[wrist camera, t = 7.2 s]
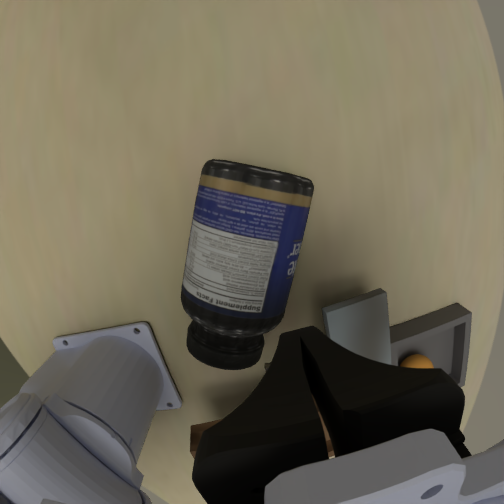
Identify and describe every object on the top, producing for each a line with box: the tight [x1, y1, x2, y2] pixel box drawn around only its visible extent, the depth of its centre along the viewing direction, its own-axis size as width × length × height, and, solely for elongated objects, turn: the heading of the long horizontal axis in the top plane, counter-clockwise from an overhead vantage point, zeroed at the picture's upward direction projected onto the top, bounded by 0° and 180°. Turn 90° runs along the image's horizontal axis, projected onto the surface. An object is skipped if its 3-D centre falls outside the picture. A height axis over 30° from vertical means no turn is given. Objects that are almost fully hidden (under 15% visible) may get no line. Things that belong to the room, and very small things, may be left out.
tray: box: [389, 303, 472, 387], centre depth 22 cm, size 8×8×2 cm
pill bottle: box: [181, 159, 314, 370], centre depth 18 cm, size 6×6×11 cm
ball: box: [400, 354, 434, 368], centre depth 21 cm, size 3×3×3 cm
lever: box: [190, 288, 391, 459], centre depth 18 cm, size 14×11×3 cm
